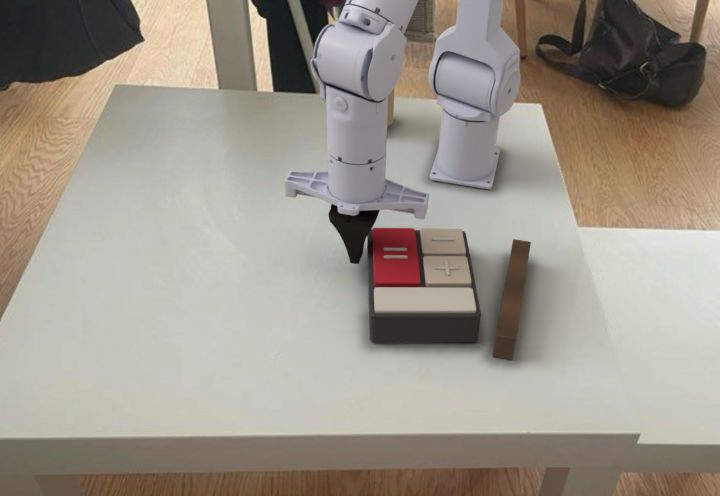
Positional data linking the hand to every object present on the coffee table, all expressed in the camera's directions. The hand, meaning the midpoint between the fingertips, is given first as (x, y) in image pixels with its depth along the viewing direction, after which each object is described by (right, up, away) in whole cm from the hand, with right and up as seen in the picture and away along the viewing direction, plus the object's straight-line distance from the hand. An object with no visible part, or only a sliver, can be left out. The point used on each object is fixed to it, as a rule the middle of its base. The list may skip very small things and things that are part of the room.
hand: (356, 258), depth 89 cm
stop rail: (+17, -5, -1) cm, 18 cm away
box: (-1, +20, +23) cm, 31 cm away
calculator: (+7, -4, -1) cm, 8 cm away
